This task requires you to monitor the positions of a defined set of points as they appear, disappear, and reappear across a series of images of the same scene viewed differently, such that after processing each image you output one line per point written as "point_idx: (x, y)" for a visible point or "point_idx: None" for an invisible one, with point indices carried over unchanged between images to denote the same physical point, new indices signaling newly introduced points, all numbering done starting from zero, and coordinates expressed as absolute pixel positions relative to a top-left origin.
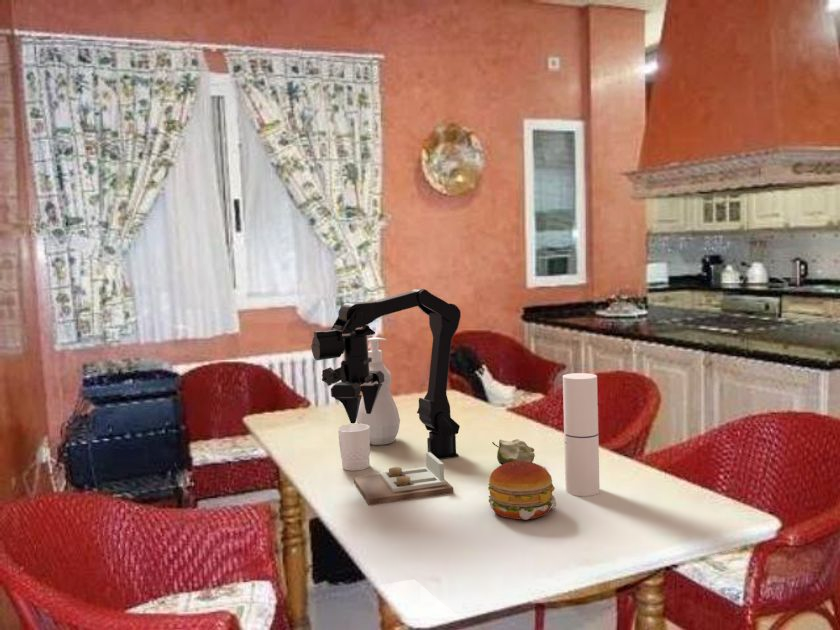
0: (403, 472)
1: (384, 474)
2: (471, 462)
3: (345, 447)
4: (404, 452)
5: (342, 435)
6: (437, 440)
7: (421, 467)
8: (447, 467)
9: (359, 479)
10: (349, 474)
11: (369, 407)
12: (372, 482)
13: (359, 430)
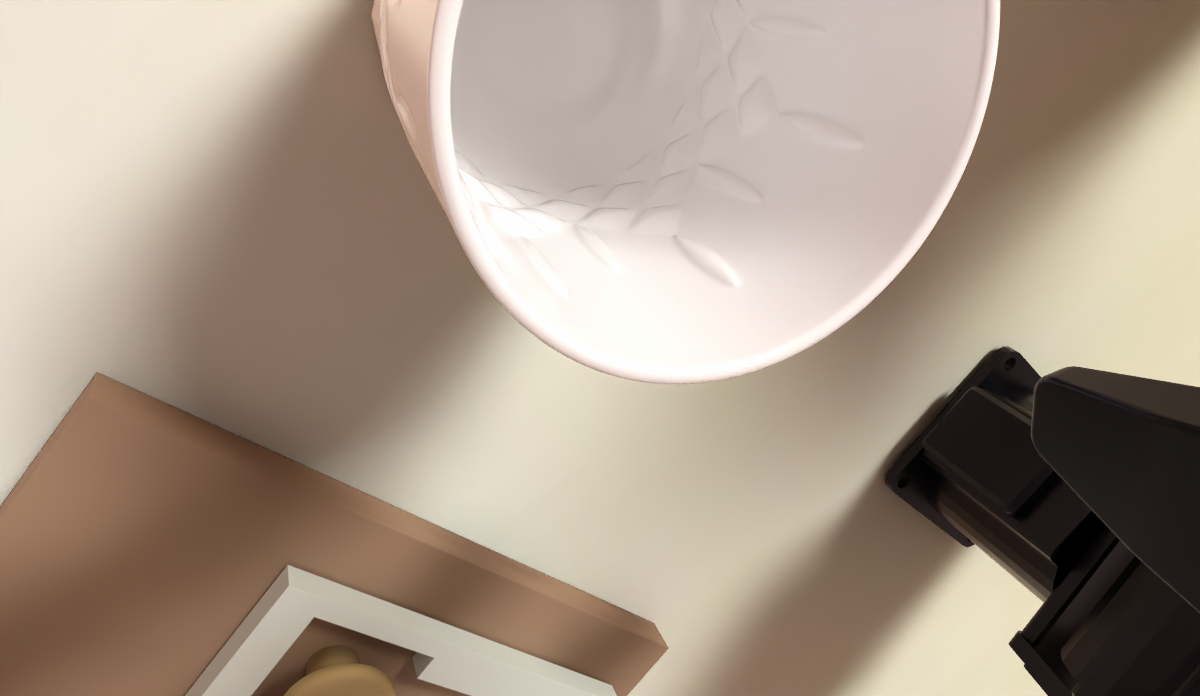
0: (425, 675)
1: (274, 638)
2: (883, 646)
3: (391, 74)
4: (1014, 160)
5: (418, 47)
6: (1015, 546)
7: (576, 689)
8: (768, 622)
9: (86, 486)
10: (278, 144)
11: (1155, 517)
12: (107, 628)
13: (899, 9)
